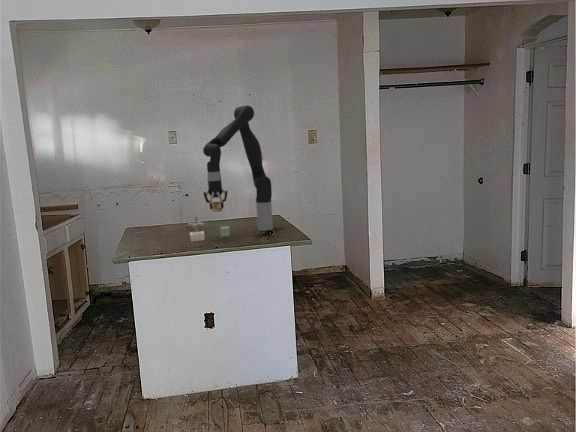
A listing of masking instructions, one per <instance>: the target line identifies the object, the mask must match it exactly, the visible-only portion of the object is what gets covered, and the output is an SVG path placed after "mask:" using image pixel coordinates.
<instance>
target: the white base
mask: <svg viewBox="0 0 576 432" xmlns="http://www.w3.org/2000/svg"><path fill="white" fill-rule="evenodd" d="M189 238H190V239H189V240H190V242H198V241H199V242H200V241H206V239H205V238H206V235H205V231H204V230H202V231H199V232H196V231H192V232H191V231H190V232H189Z"/></svg>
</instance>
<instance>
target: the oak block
mask: <svg viewBox="0 0 576 432" xmlns="http://www.w3.org/2000/svg"><path fill="white" fill-rule="evenodd" d="M211 211H212V213H217V212H222V211H223V209H221V201H212V210H211Z"/></svg>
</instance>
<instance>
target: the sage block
mask: <svg viewBox="0 0 576 432" xmlns="http://www.w3.org/2000/svg"><path fill="white" fill-rule="evenodd" d="M230 230H231V229H230V226H229V225H228V226H220V237H221V238H223V237H231V231H230Z"/></svg>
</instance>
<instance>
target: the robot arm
mask: <svg viewBox="0 0 576 432" xmlns="http://www.w3.org/2000/svg"><path fill="white" fill-rule="evenodd" d="M233 115H234V120H232V121H231V122H230V123H228V124H227V125H226V126H225V127H223V128H222V129H221V130H220V131H219V132H218V134H217V135H216V136H215V137H214V138H212V139H211V140H209V141H208V142H207V143H206V144H205V145H204V147H203V149H202V150H203V151H202V152H203V155H205V156H206V157H209V161H208V162H207V164H206V170H207V186H208V190H207V191H204V192H203V197H204V200H205V202H206V203H208V204H209V209H210V210H211V211H212V202H213V200H214V198H218V199H219V200H220V201H221V209H222V210H223V209H224V206H225V205H224V203H225V202H227V199H228V198H227V197H228V191H229V190H223V186H222V185H223V183H222V175H221V168H220V163H221V157H222V150H221V148H223V147H225V146H226V145H227V143H228V142H229V141H230V140H231V139H232V138H233V137H234V136H235V135H236V134H237V132H239V133H240V136H241V141H242V145H243V147H244V150H245V154H246V159H247V161H248V164H249V167H250V169H251V175H252V180H253V185H254V187H255V189H256V198H255V203H256V204H255V206H256V219H257V230H258V231H259V232H266V231H267V232H268V230H269V231H273V230H274V220H273V209H272V208H273V207H272V197H273V196H272V195H273V194H272V192H273V191H272V182H271V179H270V178H269V177H268V176H267V175H266V172H265V169H264V166H263V165H264V164H263V154H262V148H261V145H260V142H259V140H258V138H257V137H256V135H255V134H254V132H253V131H252V130H251V128H250V124H249V122H251V121H252V120H253V119H254V117H255V110H254V108H253V107H252V106H250V105H242V106H238V107H236V108H235V110H234V112H233ZM222 194H223V195H224V198H222ZM208 195H209V196H210V198H209V197H208Z"/></svg>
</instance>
